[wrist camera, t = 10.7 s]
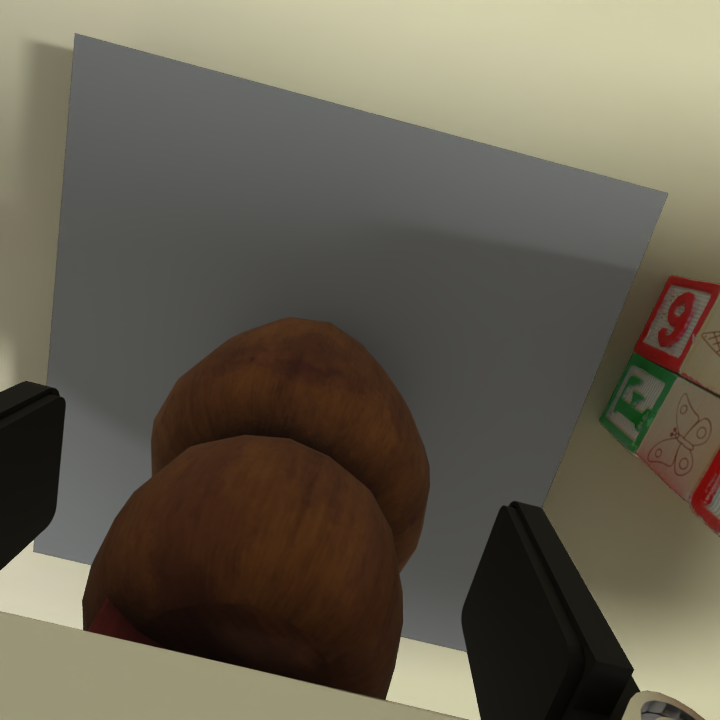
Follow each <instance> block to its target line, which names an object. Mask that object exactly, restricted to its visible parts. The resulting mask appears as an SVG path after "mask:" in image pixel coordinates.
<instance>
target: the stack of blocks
mask: <svg viewBox="0 0 720 720" xmlns="http://www.w3.org/2000/svg"><path fill="white" fill-rule="evenodd" d="M599 422H600V423H601V424H602V425H603V426H604V427H605V428H606V429H607V430H608V431H609V432H610V433H611V434H612V435H613V436H614V437H615V438H616V439H617V440H618V441H619V442H620V443H621V444H622V445H623V446H624V447H625V448H626V449H627V450H628V451H629V452H630V453H631V454H632V455H634V456H635V457H637V458H640V459H641V460H642V461H643V462H644V463H646V464H647V465H648V466H649V467H650V468H651V469H652V470H653V471H654V472H655V473H656V474H657V475H658V476H659V477H660V478H661V479H662V480H663V481H664V482H665V483H666V484H667V485H668V486H669V487H670V488H671V489H673V490H674V491H675V492H676V493H677V494H678V495H679V496H680V497H681V498H682V499H684V500H685V501H687V502H689V503H690V508H691V510H692V511H693V513H694V514H695V515H696V516H698V517H699V518H700V519H701V520H702V521H703V522H704V523H705V524H706V525H707V526H708V527H709V528H710V529H711V530H713V531H714V532H715V533H716V534H717V535H718V536H719V537H720V284H718V283H713V282H707V281H700V280H694V279H689V278H685V277H680V276H671V277H670V278H669V280H668V282H667V284H666V286H665V288H664V290H663V292H662V294H661V296H660V298H659V300H658V302H657V304H656V306H655V308H654V310H653V312H652V314H651V316H650V318H649V320H648V322H647V324H646V326H645V328H644V330H643V332H642V334H641V336H640V338H639V340H638V342H637V344H636V346H635V348H634V353H633V355H632V357H631V359H630V361H629V363H628V365H627V367H626V369H625V371H624V373H623V375H622V377H621V379H620V381H619V383H618V385H617V387H616V389H615V391H614V393H613V395H612V397H611V399H610V401H609V403H608V405H607V407H606V409H605V411H604V412H603V414H602V416H601V418H600V421H599Z"/></svg>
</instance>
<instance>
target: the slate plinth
mask: <svg viewBox="0 0 720 720" xmlns="http://www.w3.org/2000/svg"><path fill="white" fill-rule="evenodd" d="M667 196H668V193H665V192H661V191H658V190H654V189H650V188H647V187H643V186H639V185H635V184H632V183H628V182H624V181H621V180H617V179H613V178H610V177H606V176H602V175H598V174H595V173H591V172H587V171H584V170H580V169H576V168H573V167H569V166H565V165H561V164H558V163H554V162H550V161H547V160H543V159H539V158H535V157H532V156H528V155H524V154H521V153H517V152H513V151H510V150H506V149H502V148H498V147H495V146H491V145H487V144H484V143H480V142H476V141H473V140H469V139H465V138H461V137H458V136H454V135H450V134H447V133H443V132H439V131H435V130H432V129H428V128H424V127H421V126H417V125H413V124H410V123H406V122H402V121H398V120H395V119H391V118H387V117H384V116H380V115H376V114H372V113H369V112H365V111H361V110H358V109H354V108H350V107H347V106H343V105H339V104H335V103H332V102H328V101H324V100H321V99H317V98H313V97H310V96H306V95H302V94H298V93H295V92H291V91H287V90H284V89H280V88H276V87H272V86H269V85H265V84H261V83H258V82H254V81H250V80H247V79H243V78H239V77H235V76H232V75H228V74H224V73H221V72H217V71H213V70H209V69H206V68H202V67H198V66H195V65H191V64H187V63H184V62H180V61H176V60H172V59H169V58H165V57H161V56H158V55H154V54H150V53H147V52H143V51H139V50H135V49H132V48H128V47H124V46H121V45H117V44H113V43H109V42H106V41H102V40H98V39H95V38H91V37H87V36H84V35H80V34H76V33H75V38H74V51H73V63H72V76H71V88H70V101H69V113H68V126H67V138H66V150H65V163H64V175H63V188H62V200H61V213H60V225H59V238H58V250H57V262H56V275H55V287H54V300H53V312H52V325H51V337H50V350H49V362H48V374H47V386H49V387H53V388H56V389H57V390H58V391H59V394H60V397H63V398H64V399H65V401H66V410H65V421H64V431H63V442H62V453H61V464H60V475H59V485H58V496H57V507H56V512H55V515H54V517H53V519H52V521H51V523H50V524H49V526H48V527H47V528H46V529H45V530H44V531H43V532H41V533H40V534H39V535H38V536H37V537H36V538H35V539H34V549H33V552H36V553H41V554H45V555H49V556H54V557H58V558H62V559H67V560H71V561H75V562H79V563H84V564H88V565H92V562H93V560H94V558H95V556H96V554H97V552H98V550H99V548H100V546H101V544H102V542H103V540H104V538H105V537H106V535H107V533H108V531H109V529H110V527H111V525H112V523H113V521H114V519H115V517H116V516H117V514H118V513H119V512H120V510H121V509H122V507H123V506H124V505H125V503H126V502H127V500H128V499H129V498H130V496H131V495H132V493H133V492H134V491H135V490H137V489H138V488H139V487H140V486H142V485H143V484H144V483H145V482H147V481H148V480H149V479H150V478H151V477H152V466H151V436H152V429H153V422H154V419H155V417H156V415H157V414H158V412H159V410H160V409H161V407H162V405H163V403H164V402H165V400H166V398H167V397H168V395H169V393H170V392H171V390H172V388H173V387H174V385H175V383H176V382H177V380H178V379H179V378H180V377H181V376H182V375H184V374H185V373H186V372H187V371H189V370H190V369H191V368H192V367H194V366H195V365H196V364H197V363H199V362H200V361H201V360H202V359H204V358H205V357H206V356H207V355H209V354H210V353H211V352H212V351H214V350H215V349H216V348H218V347H219V346H220V345H221V344H223V343H224V342H225V341H227V340H228V339H230V338H232V337H233V336H235V335H237V334H239V333H241V332H244V331H247V330H250V329H253V328H256V327H259V326H262V325H265V324H268V323H271V322H274V321H277V320H280V319H283V318H289V317H293V318H301V319H308V320H316V321H323V322H330V323H332V324H333V325H335V326H336V327H338V328H339V329H341V330H342V331H343V332H345V333H346V334H348V335H349V336H351V337H352V338H354V339H355V340H356V341H358V342H359V343H361V344H362V345H363V346H364V347H365V348H366V350H367V351H368V352H369V353H370V354H371V355H372V356H373V357H374V359H375V360H376V361H377V362H378V363H379V364H380V365H381V367H382V368H383V369H384V370H385V371H386V373H387V374H388V376H389V377H390V379H391V380H392V382H393V383H394V385H395V386H396V388H397V389H398V391H399V392H400V394H401V395H402V397H403V398H404V400H405V402H406V404H407V406H408V408H409V410H410V411H411V414H412V416H413V419H414V421H415V424H416V427H417V429H418V432H419V434H420V437H421V439H422V442H423V444H424V447H425V451H426V454H427V458H428V462H429V466H430V489H429V495H428V501H427V506H426V512H425V518H424V523H423V529H422V532H421V535H420V538H419V542H418V545H417V548H416V550H415V551H414V553H413V554H412V556H411V557H410V559H409V560H408V562H407V563H406V565H405V566H404V568H403V569H402V571H401V572H400V580H401V585H402V591H403V627H402V632H401V637H404V638H408V639H413V640H417V641H421V642H426V643H430V644H434V645H439V646H443V647H447V648H452V649H456V650H460V651H465V652H467V649H466V644H465V640H464V635H463V630H462V624H461V614H462V608H463V605H464V602H465V599H466V597H467V594H468V591H469V589H470V586H471V584H472V581H473V578H474V576H475V573H476V570H477V568H478V565H479V562H480V560H481V557H482V554H483V552H484V549H485V546H486V544H487V541H488V538H489V536H490V533H491V530H492V528H493V525H494V522H495V520H496V517H497V514H498V512H499V510H500V508H501V507H502V506H503V505H505V506H509V504H510V503H511V502H512V501H517V502H521V503H525V504H529V505H534V506H538V507H541V508H542V506H543V504H544V501H545V499H546V496H547V494H548V491H549V489H550V486H551V484H552V481H553V479H554V476H555V474H556V471H557V469H558V466H559V464H560V461H561V459H562V456H563V454H564V451H565V449H566V446H567V444H568V441H569V439H570V437H571V434H572V432H573V429H574V427H575V424H576V422H577V419H578V417H579V414H580V412H581V409H582V407H583V404H584V402H585V399H586V397H587V394H588V392H589V389H590V387H591V384H592V382H593V379H594V377H595V374H596V372H597V369H598V367H599V365H600V362H601V360H602V357H603V355H604V352H605V350H606V347H607V345H608V342H609V340H610V337H611V335H612V332H613V330H614V327H615V325H616V322H617V320H618V317H619V315H620V312H621V310H622V307H623V305H624V302H625V300H626V297H627V295H628V292H629V290H630V288H631V285H632V283H633V280H634V278H635V275H636V273H637V270H638V268H639V265H640V263H641V260H642V258H643V255H644V253H645V250H646V248H647V245H648V243H649V240H650V238H651V235H652V233H653V230H654V228H655V225H656V223H657V220H658V218H659V216H660V213H661V211H662V208H663V206H664V203H665V201H666V198H667Z"/></svg>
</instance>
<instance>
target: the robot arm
mask: <svg viewBox="0 0 720 720" xmlns="http://www.w3.org/2000/svg"><path fill="white" fill-rule="evenodd" d="M65 410H66V401H65V399H64V398H63V397H60V394H59V391H58V390H57V389H56V388H53V387H49V386H45V385H40V384H36V383H32V382H28V381H25V382H22V383H20V384H17V385H15V386H13V387H11V388H8V389H6V390H4V391H2V392H0V570H1V569H2V568H4V567H5V566H6V565H7V564H8V563H9V562H10V561H11V560H12V559H13V558H14V557H15V556H17V555H18V554H19V553H20V552H21V551H22V550H23V549H24V548H25V547H26V546H27V545H28V544H30V543H31V542H32V541H33V540H34V539H35V538H36V537H37V536H38V535H39V534H40V533H41V532H43V531H44V530H45V529H46V528H47V527H48V526H49V524H50V523H51V521H52V519H53V517H54V515H55V512H56V507H57V496H58V485H59V475H60V464H61V453H62V442H63V431H64V421H65ZM461 624H462V630H463V635H464V640H465V644H466V649H467V654H468V659H469V664H470V669H471V674H472V678H473V683H474V688H475V693H476V698H477V703H478V708H479V712H480V717H481V720H705V719H704V718H702V717H701V716H700V715H698V714H697V713H696V712H695V711H693V710H692V709H691V708H689V707H687V706H686V705H684V704H682V703H681V702H679V701H677V700H676V699H674V698H671V697H669V696H666V695H664V694H661V693H658V692H652V691H642V692H640V690H639V688H638V686H637V685H636V683H635V681H634V679H633V677H632V676H631V675H632V673H633V671H634V669H633V667H632V665H631V664H630V662H629V660H628V658H627V657H626V655H625V653H624V651H623V649H622V648H621V646H620V644H619V642H618V641H617V639H616V637H615V635H614V634H613V632H612V630H611V628H610V627H609V625H608V623H607V621H606V620H605V618H604V616H603V614H602V613H601V611H600V609H599V607H598V606H597V604H596V602H595V600H594V599H593V597H592V595H591V593H590V592H589V590H588V588H587V586H586V585H585V583H584V581H583V579H582V578H581V576H580V574H579V572H578V571H577V569H576V567H575V565H574V564H573V562H572V560H571V558H570V557H569V555H568V553H567V551H566V550H565V548H564V546H563V544H562V542H561V541H560V539H559V537H558V535H557V534H556V532H555V530H554V528H553V527H552V525H551V523H550V521H549V520H548V518H547V516H546V514H545V513H544V511H543V509H542V508H541V507H538V506H534V505H529V504H525V503H521V502H517V501H512V502H511V503H510V504H509V506H505V505H503V506H502V507H501V508H500V510H499V512H498V514H497V517H496V520H495V522H494V525H493V528H492V530H491V533H490V536H489V538H488V541H487V544H486V546H485V549H484V552H483V554H482V557H481V560H480V562H479V565H478V568H477V570H476V573H475V576H474V578H473V581H472V584H471V586H470V589H469V591H468V594H467V597H466V599H465V602H464V605H463V608H462V614H461ZM0 720H468V719H464V718H459V717H455V716H451V715H447V714H442V713H438V712H434V711H430V710H425V709H421V708H417V707H413V706H409V705H404V704H400V703H396V702H392V701H387V700H383V699H379V698H375V697H370V696H366V695H362V694H358V693H353V692H349V691H345V690H341V689H336V688H332V687H328V686H323V685H319V684H314V683H310V682H306V681H301V680H297V679H293V678H288V677H284V676H280V675H275V674H271V673H267V672H262V671H258V670H253V669H249V668H245V667H240V666H236V665H232V664H227V663H223V662H219V661H214V660H210V659H205V658H201V657H197V656H192V655H188V654H184V653H179V652H175V651H171V650H166V649H162V648H158V647H153V646H149V645H145V644H140V643H136V642H132V641H127V640H123V639H118V638H114V637H110V636H105V635H101V634H97V633H92V632H88V631H84V630H79V629H75V628H71V627H66V626H62V625H58V624H53V623H49V622H45V621H40V620H36V619H32V618H27V617H23V616H19V615H14V614H10V613H5V612H1V611H0Z"/></svg>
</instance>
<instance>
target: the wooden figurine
mask: <svg viewBox="0 0 720 720" xmlns="http://www.w3.org/2000/svg"><path fill="white" fill-rule="evenodd" d="M151 466H152V477H151V478H150V479H149V480H148V481H147V482H145V483H144V484H143V485H142V486H140V487H139V488H138V489H137V490H135V491H134V492H133V493H132V495H131V496H130V498H129V499H128V500H127V502H126V503H125V505H124V506H123V507H122V509H121V510H120V512H119V513H118V514H117V516H116V517H115V519H114V521H113V523H112V525H111V527H110V529H109V531H108V533H107V535H106V537H105V538H104V540H103V542H102V544H101V546H100V548H99V550H98V552H97V554H96V556H95V558H94V560H93V562H92V565H91V569H90V573H89V576H88V580H87V584H86V588H85V592H84V596H83V600H82V606H83V630H84V631H88V632H92V633H97V634H101V635H105V636H110V637H114V638H118V639H123V640H127V641H132V642H136V643H140V644H145V645H149V646H153V647H158V648H162V649H166V650H171V651H175V652H179V653H184V654H188V655H192V656H197V657H201V658H205V659H210V660H214V661H219V662H223V663H227V664H232V665H236V666H240V667H245V668H249V669H253V670H258V671H262V672H267V673H271V674H275V675H280V676H284V677H288V678H293V679H297V680H301V681H306V682H310V683H314V684H319V685H323V686H328V687H332V688H336V689H341V690H345V691H349V692H353V693H358V694H362V695H366V696H370V697H375V698H379V699H383V700H385V699H386V696H387V692H388V689H389V686H390V682H391V679H392V675H393V672H394V669H395V664H396V658H397V653H398V648H399V642H400V637H401V632H402V627H403V591H402V585H401V580H400V572H401V571H402V569H403V568H404V566H405V565H406V563H407V562H408V560H409V559H410V557H411V556H412V554H413V553H414V551H415V550H416V548H417V545H418V542H419V538H420V535H421V532H422V529H423V523H424V518H425V512H426V506H427V501H428V495H429V489H430V466H429V462H428V458H427V454H426V451H425V447H424V444H423V442H422V439H421V437H420V434H419V432H418V429H417V427H416V424H415V421H414V419H413V416H412V414H411V411H410V410H409V408H408V406H407V404H406V402H405V400H404V398H403V397H402V395H401V394H400V392H399V391H398V389H397V388H396V386H395V385H394V383H393V382H392V380H391V379H390V377H389V376H388V374H387V373H386V371H385V370H384V369H383V368H382V367H381V365H380V364H379V363H378V362H377V361H376V360H375V359H374V357H373V356H372V355H371V354H370V353H369V352H368V351H367V350H366V348H365V347H364V346H363V345H362V344H361V343H359V342H358V341H356V340H355V339H354V338H352V337H351V336H349V335H348V334H346V333H345V332H343V331H342V330H341V329H339V328H338V327H336V326H335V325H333V324H332V323H330V322H323V321H316V320H308V319H301V318H293V317H289V318H283V319H280V320H277V321H274V322H271V323H268V324H265V325H262V326H259V327H256V328H253V329H250V330H247V331H244V332H241V333H239V334H237V335H235V336H233V337H232V338H230V339H228V340H227V341H225V342H224V343H223V344H221V345H220V346H219V347H218V348H216V349H215V350H214V351H212V352H211V353H210V354H209V355H207V356H206V357H205V358H204V359H202V360H201V361H200V362H199V363H197V364H196V365H195V366H194V367H192V368H191V369H190V370H189V371H187V372H186V373H185V374H184V375H182V376H181V377H180V378H179V379H178V380H177V382H176V383H175V385H174V387H173V388H172V390H171V392H170V393H169V395H168V397H167V398H166V400H165V402H164V403H163V405H162V407H161V409H160V410H159V412H158V414H157V415H156V417H155V419H154V422H153V429H152V436H151Z"/></svg>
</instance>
